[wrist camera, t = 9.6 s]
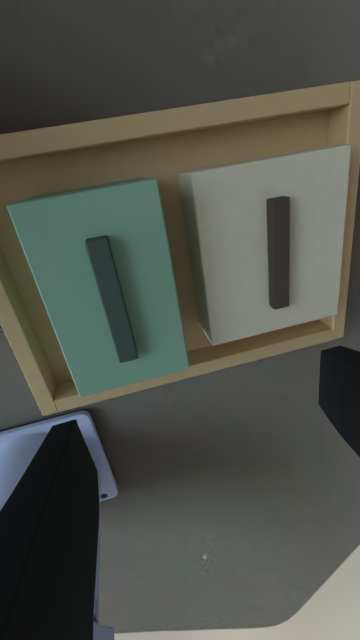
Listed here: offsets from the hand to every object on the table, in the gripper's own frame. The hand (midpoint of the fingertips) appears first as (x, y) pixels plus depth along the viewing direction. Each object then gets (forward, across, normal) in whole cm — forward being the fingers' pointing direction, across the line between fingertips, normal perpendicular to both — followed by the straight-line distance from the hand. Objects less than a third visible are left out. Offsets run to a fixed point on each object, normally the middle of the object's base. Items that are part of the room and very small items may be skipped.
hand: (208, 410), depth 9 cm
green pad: (+9, +2, -2) cm, 9 cm away
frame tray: (+9, -1, -2) cm, 10 cm away
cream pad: (+9, -5, -2) cm, 11 cm away
